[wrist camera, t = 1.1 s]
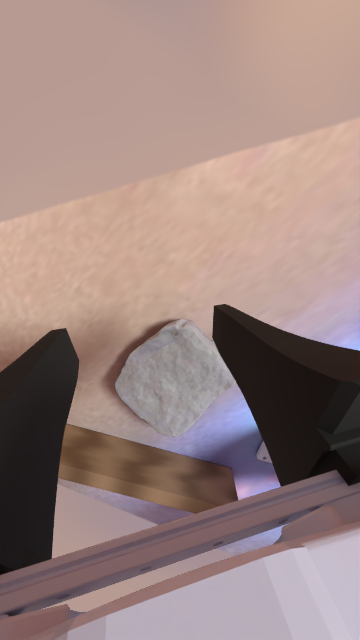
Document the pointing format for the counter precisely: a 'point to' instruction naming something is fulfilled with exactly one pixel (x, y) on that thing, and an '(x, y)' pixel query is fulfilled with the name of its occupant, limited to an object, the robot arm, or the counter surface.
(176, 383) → the stone block
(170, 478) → the walnut wall
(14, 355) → the counter surface
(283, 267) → the counter surface
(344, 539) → the robot arm
